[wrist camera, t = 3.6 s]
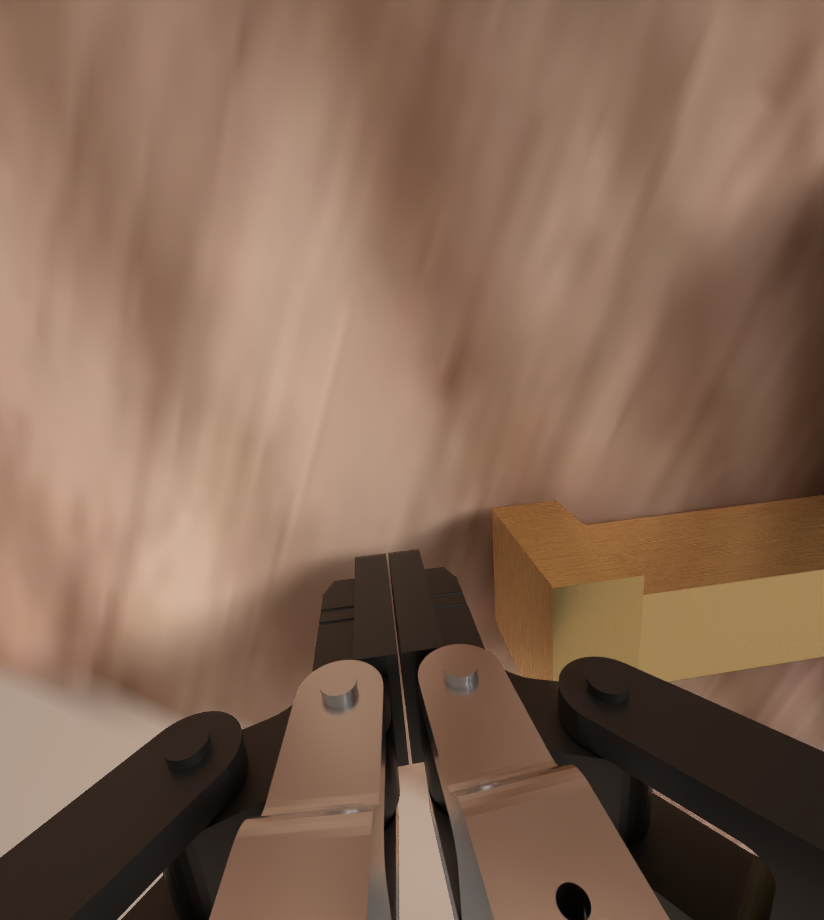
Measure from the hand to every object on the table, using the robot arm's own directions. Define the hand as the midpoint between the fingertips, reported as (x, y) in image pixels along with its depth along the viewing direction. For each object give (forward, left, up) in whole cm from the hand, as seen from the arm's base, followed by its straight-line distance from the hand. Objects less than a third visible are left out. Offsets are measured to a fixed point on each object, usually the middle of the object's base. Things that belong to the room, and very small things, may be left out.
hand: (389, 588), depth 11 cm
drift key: (-8, 0, 0) cm, 8 cm away
